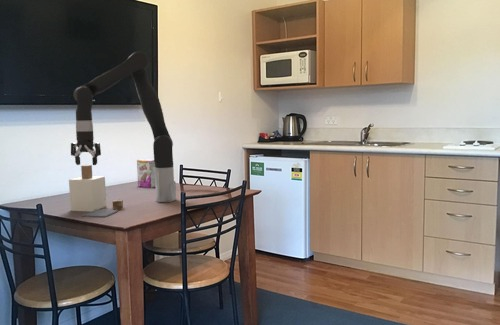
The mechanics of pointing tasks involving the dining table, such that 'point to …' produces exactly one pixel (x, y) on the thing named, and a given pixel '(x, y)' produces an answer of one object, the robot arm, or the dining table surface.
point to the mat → (100, 213)
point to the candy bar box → (146, 173)
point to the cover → (87, 191)
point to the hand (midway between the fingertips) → (86, 164)
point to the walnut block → (117, 204)
